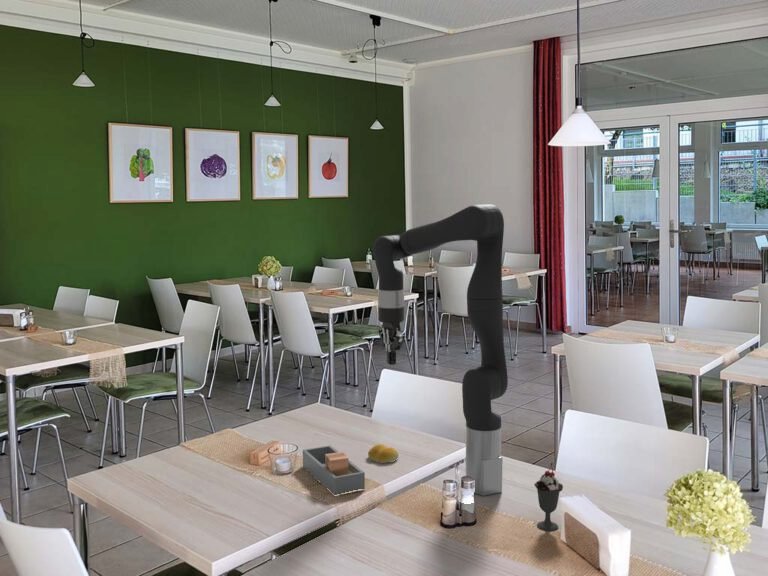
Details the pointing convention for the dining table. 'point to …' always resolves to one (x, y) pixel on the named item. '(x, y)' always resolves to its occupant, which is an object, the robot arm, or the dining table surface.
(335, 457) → the block
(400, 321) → the robot arm
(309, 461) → the trap box
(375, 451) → the bread roll
